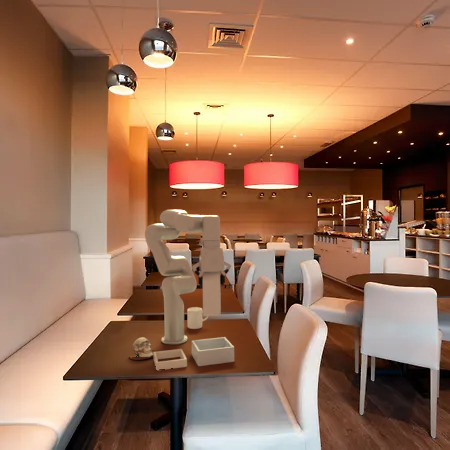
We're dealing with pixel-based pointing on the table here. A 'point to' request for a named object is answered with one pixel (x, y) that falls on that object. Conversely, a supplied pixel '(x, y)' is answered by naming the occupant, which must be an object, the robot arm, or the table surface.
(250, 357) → the table surface
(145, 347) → the skull
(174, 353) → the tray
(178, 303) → the robot arm
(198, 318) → the mug
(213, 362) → the tub
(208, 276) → the milk carton
